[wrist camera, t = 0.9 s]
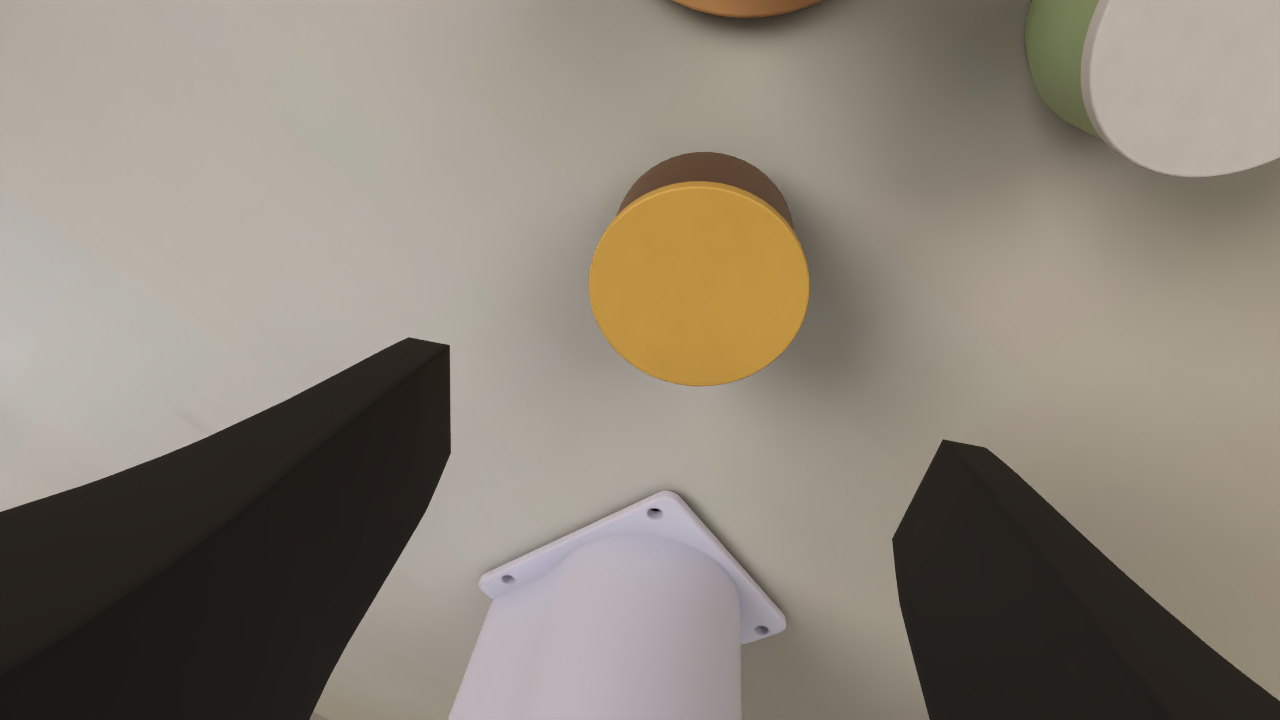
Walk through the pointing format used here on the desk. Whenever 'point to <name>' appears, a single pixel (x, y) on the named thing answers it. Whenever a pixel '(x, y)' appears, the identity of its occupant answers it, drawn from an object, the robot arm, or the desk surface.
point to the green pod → (1164, 78)
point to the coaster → (747, 7)
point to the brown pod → (700, 272)
